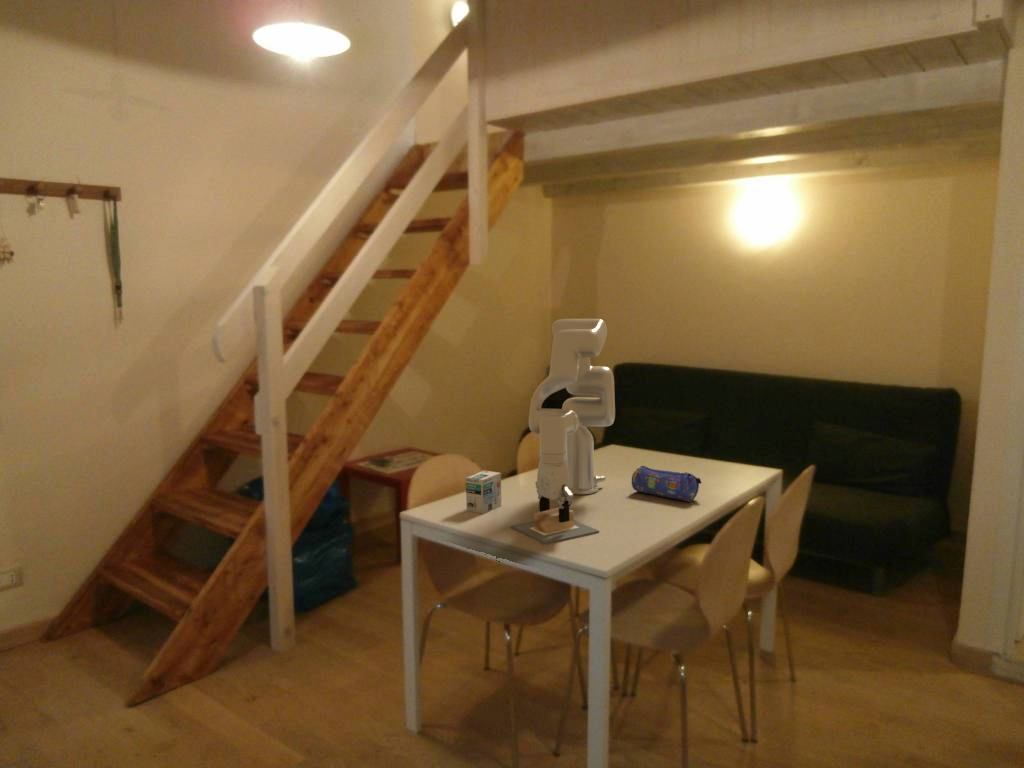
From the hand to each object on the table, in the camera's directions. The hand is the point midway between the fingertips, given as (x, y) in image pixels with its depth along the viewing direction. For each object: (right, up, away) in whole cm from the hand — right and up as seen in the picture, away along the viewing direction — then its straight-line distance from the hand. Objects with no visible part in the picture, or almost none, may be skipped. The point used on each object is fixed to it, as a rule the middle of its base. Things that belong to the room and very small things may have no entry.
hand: (554, 517), depth 210 cm
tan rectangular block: (0, -3, 0) cm, 3 cm away
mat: (0, -4, 0) cm, 4 cm away
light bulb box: (-21, -2, +23) cm, 31 cm away
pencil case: (+38, +1, +32) cm, 50 cm away
